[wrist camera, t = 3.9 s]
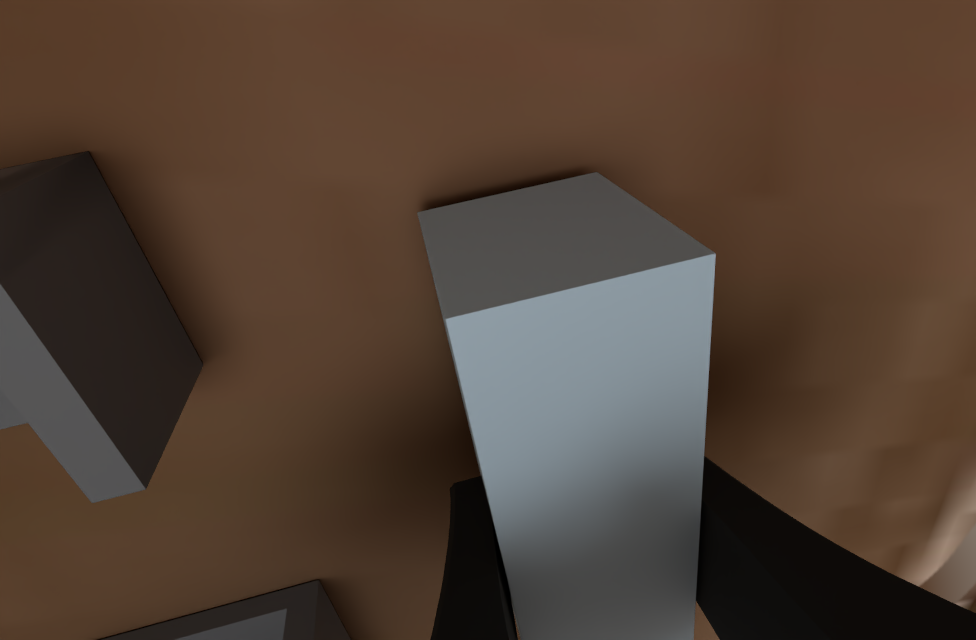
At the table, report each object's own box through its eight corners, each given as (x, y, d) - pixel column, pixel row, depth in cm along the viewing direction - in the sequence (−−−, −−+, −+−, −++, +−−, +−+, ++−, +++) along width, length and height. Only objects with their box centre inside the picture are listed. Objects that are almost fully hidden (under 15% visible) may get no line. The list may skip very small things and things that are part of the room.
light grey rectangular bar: (621, 575, 16) (688, 723, 13) (512, 607, 16) (552, 767, 13) (597, 172, 10) (716, 253, 7) (417, 212, 10) (446, 319, 6)
